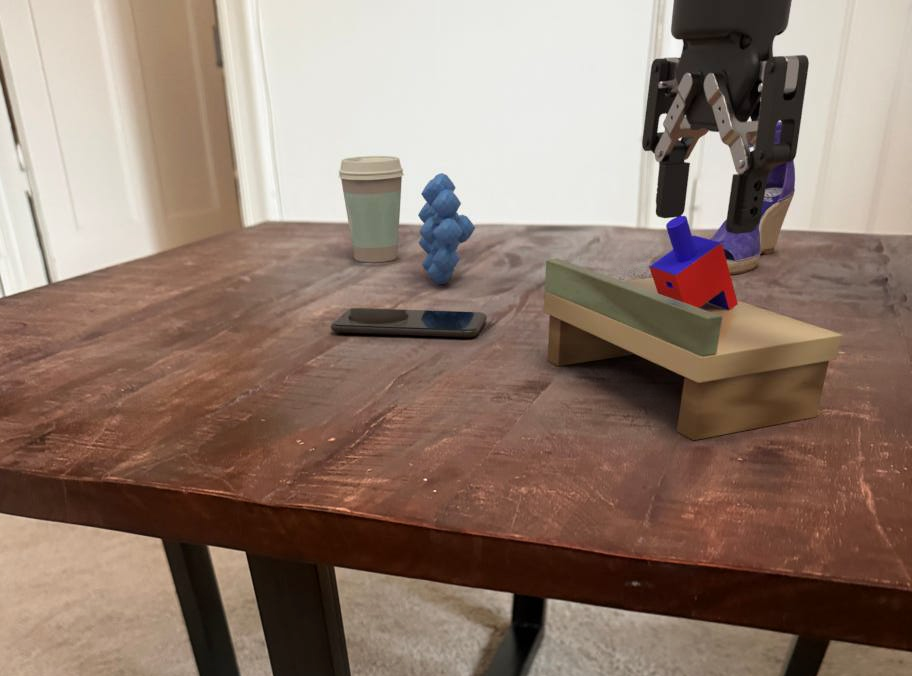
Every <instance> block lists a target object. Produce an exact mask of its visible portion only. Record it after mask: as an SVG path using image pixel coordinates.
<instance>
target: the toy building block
mask: <svg viewBox="0 0 912 676" xmlns="http://www.w3.org/2000/svg"><path fill="white" fill-rule="evenodd" d="M665 228H666V231H667V235H668V237H669V241H670V245H671V247H672V250H670V251H669V252H668V253H666V254H664V255H663V256H662V257H660V258H659V259H658V260H656V261H655V262H654V263H652V264H650V265H649V266H648V268H649V271H650V274H651V278H652V277H653V280H654V283H655V286H656V289H657V292H658V294H661V295H664V296H666V297H669V298H672V299H675V300H678V301H681V302H683V303H686V304H689V305H692V306H695V307H698V308H700V307H701V306H703V305H704V304H705V303H707V302H708V303H710V304H713V305H716V306H719V307H722V308H724V309H727V310H731V309H732V308H733V307H735V306H736V305H738V302H737V301H738V298H737V295H736V291H735V287H734V283H733V280H732V276H731V275H730V272H729V268H728V264H727V261H726V257H725V253H724V249H723V246H722V243H721V242H717V241H713V240H710V239H711V238H710V239H709V238H706V237H702V236H698V235H693V234H692V230H691V228H690V224H689V220H688V217H687V216H685V215H681V216H679V217H673V218H671V219H670V220H669V221H668V222H666V224H665Z"/></svg>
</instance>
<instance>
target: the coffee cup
mask: <svg viewBox="0 0 912 676" xmlns="http://www.w3.org/2000/svg"><path fill="white" fill-rule="evenodd" d="M340 162H341V163H340V169H339V170H338V178H339V179H340V181H341V186H342V191H343V198H344V199H343V200H344V204H345V209H346V210H345V211H346V215H347V216H346V217H347V222H348V229H349V233H350V234H349V235H350V239H351V245H352V251H353V257H354V260H355V261H356V262H360V263H376V264H377V263H385V262H392V261H395V260H396V259H397V258H398V248H399V232H400V218H401V217H400V215H401V199H402V197H401V196H402V181H403V179H402V178H403V176H404V175H405V174H404V172H403V171H404V168H403V167H402V165H401V160H400V158H399V157H397V156H392V155H391V156H389V155H365V156H354V157H347V158H343V159H341V161H340Z"/></svg>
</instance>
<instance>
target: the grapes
mask: <svg viewBox="0 0 912 676" xmlns="http://www.w3.org/2000/svg"><path fill="white" fill-rule="evenodd" d="M455 190H456V186H455V184H454V182H453V181H452V179H451V178H450V177H449V176H448V174H445V173H443V172H441V173H438V174H436V175H435V176H434V177H433V178H432V179H430V180H429V181H428V182H427V184H426V185H425V186H424V187H423V190H422V192H421V193H420V194H421V196H422V198H423V200H424V201H425V203H424V205H423V206H422V208H421V209H420V211H419V212H418V215H417V216H418V217H419V219H420V221H421V222H422V223H423V225H422V226H421V228H420V230H419V231H418V232H419V234H420V235H421V237H420V239H419V241H418V245H419V246H420V247H421V248H422V250H423V251H424V252H425V254H427V255H426V257H425V258H424V260H423V262H422V264H421V266H422V267H423V269H424V270H425V271H426V272H427V274H428V275H429V277H430V278H431V279H432V281H434V282H435V283H436V284H438V285H443V284H447V282H448V281H449V280H450V278H451V277H452V275H453V273H454V272H455V268H456V267H457V265H458V263H459V262H460V260H461V257H460V255H459V254H458V253H457V250H458V247H459V245H460V244H463V243H465V242H467V241H468V240H469V239H470V238H471V237H472V234H473V233H474V232H475V230H476V227H475V225H474V224H473V222H472V220H471V219H470V218H469V217H468V216H467V215H465V214H460V215H459V213H458V210H459V208H460V206H461V205H462V202H461V201H460V199H459V197H458V196H457V194H456V193H455Z"/></svg>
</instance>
